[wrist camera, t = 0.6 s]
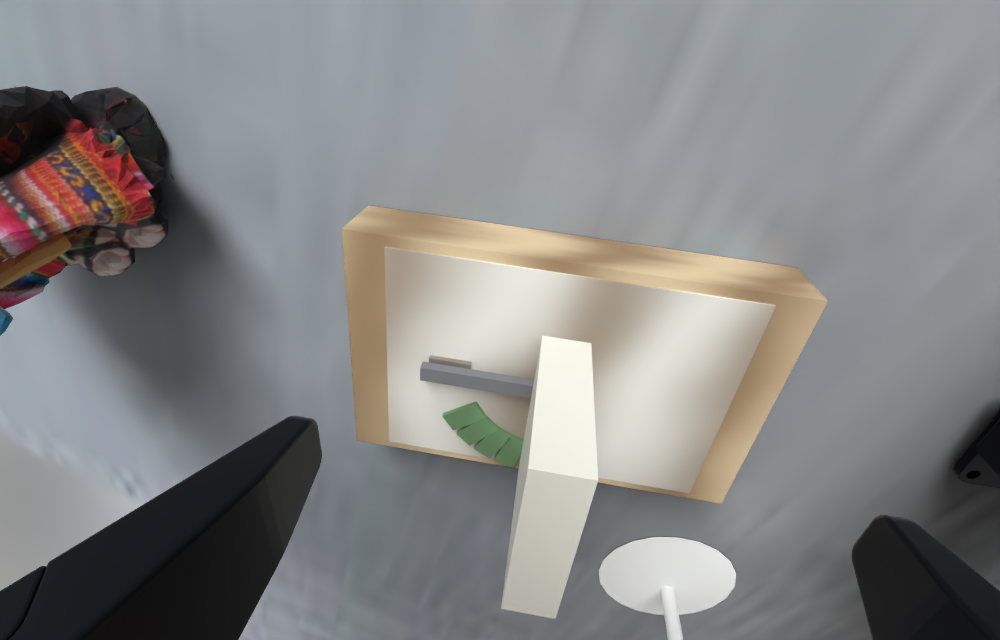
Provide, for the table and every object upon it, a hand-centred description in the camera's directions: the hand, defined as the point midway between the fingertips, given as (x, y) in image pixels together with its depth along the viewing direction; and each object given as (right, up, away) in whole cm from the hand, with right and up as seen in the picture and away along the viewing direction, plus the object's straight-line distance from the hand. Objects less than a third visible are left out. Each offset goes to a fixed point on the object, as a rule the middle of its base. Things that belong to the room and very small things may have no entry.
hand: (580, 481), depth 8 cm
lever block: (+1, +2, +13) cm, 13 cm away
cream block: (-1, +1, +11) cm, 11 cm away
